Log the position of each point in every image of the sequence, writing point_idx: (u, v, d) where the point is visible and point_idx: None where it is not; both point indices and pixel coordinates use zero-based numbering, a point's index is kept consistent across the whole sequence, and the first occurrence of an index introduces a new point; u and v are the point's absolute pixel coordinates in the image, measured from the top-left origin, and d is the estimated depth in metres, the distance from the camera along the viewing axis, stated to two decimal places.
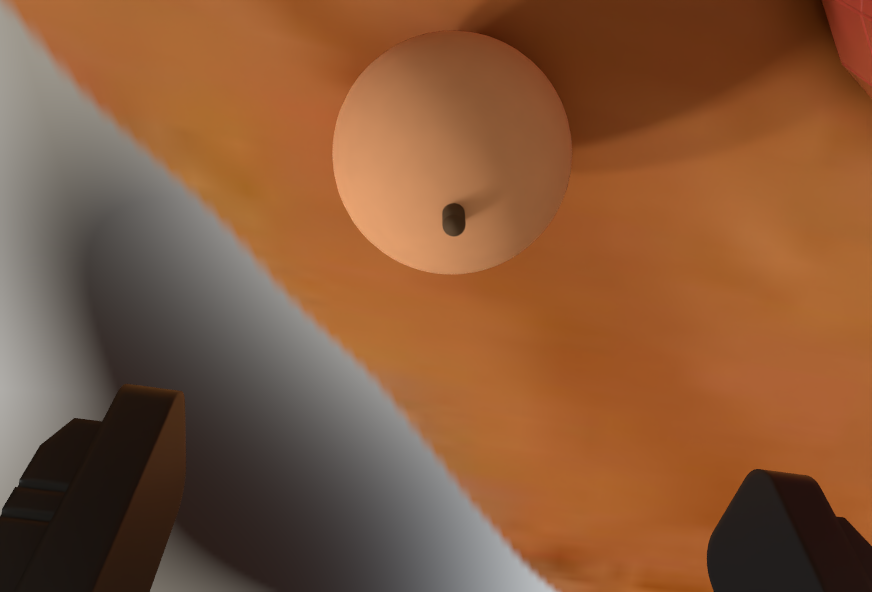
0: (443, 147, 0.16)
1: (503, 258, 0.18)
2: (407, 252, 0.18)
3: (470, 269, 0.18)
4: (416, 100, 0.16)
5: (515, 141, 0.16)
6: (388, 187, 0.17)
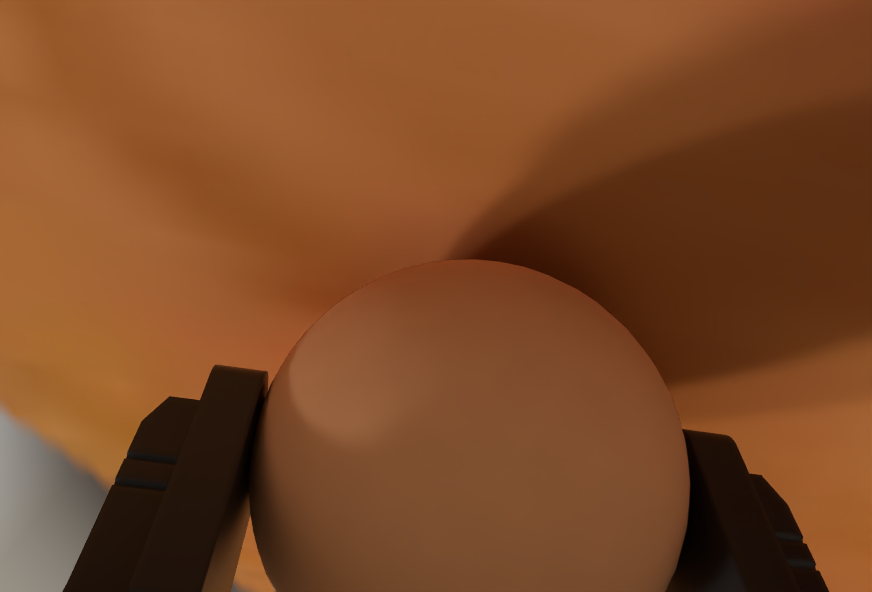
0: (453, 573, 0.08)
1: None
2: None
3: None
4: (397, 466, 0.08)
5: (602, 544, 0.08)
6: None
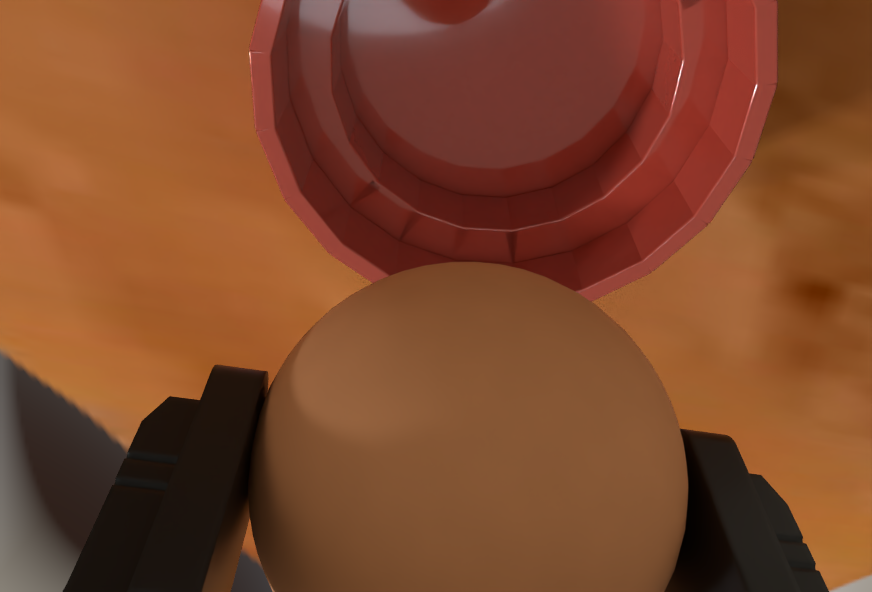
0: (450, 575, 0.08)
1: None
2: None
3: None
4: (395, 469, 0.08)
5: (600, 546, 0.08)
6: None
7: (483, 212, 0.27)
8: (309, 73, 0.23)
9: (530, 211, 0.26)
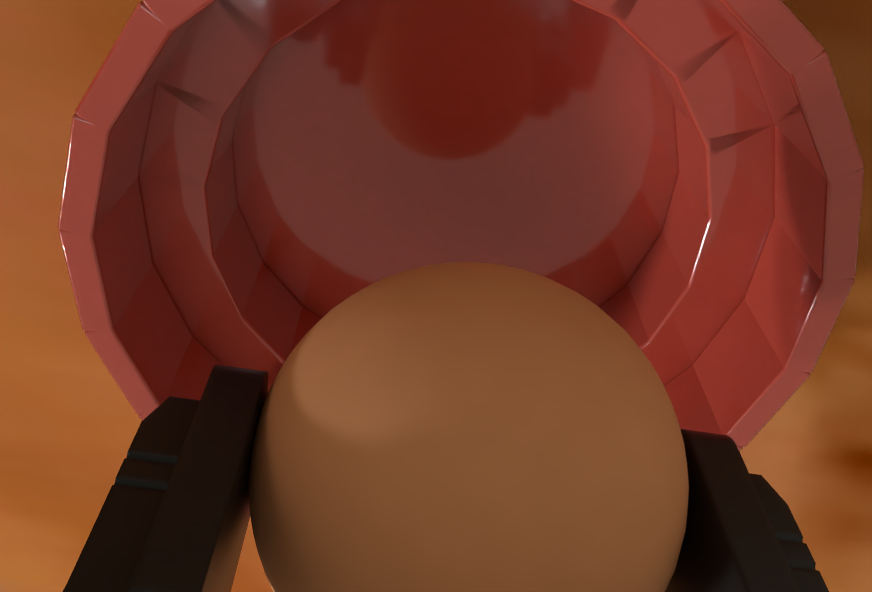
0: (451, 575, 0.08)
1: None
2: None
3: None
4: (396, 469, 0.08)
5: (601, 545, 0.08)
6: None
7: None
8: (177, 230, 0.16)
9: None
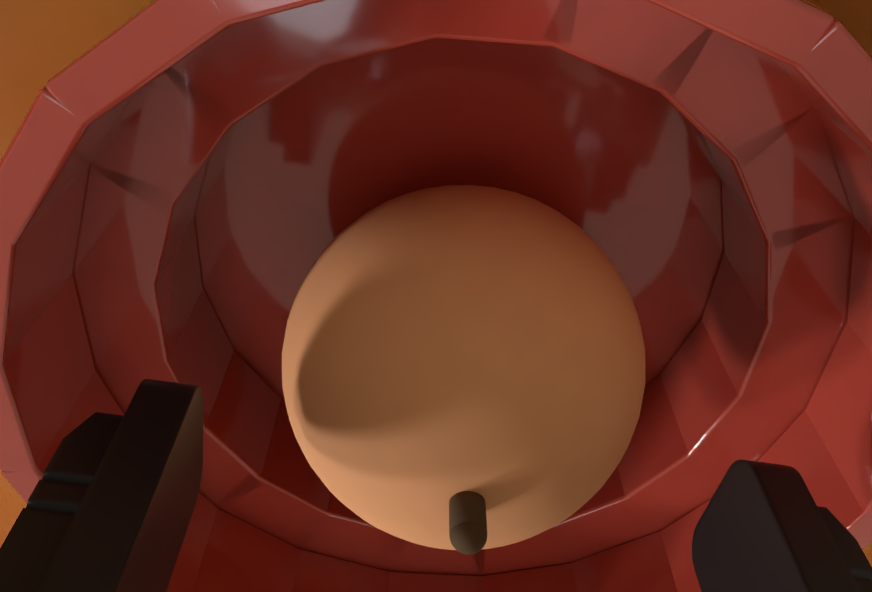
0: (449, 411, 0.10)
1: (541, 532, 0.12)
2: (394, 534, 0.12)
3: None
4: (406, 329, 0.10)
5: (568, 392, 0.10)
6: (362, 459, 0.10)
7: None
8: (124, 333, 0.13)
9: None
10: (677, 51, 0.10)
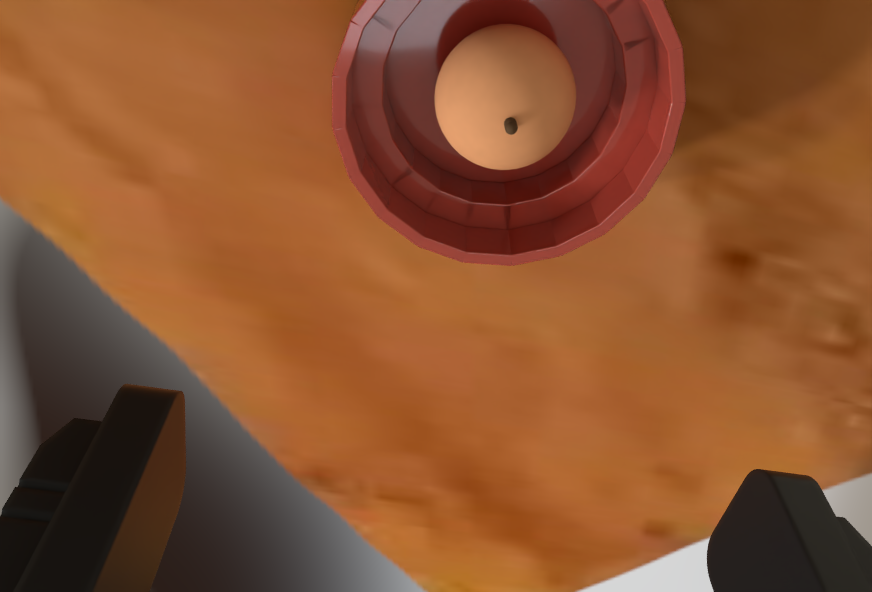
0: (505, 85, 0.29)
1: (536, 156, 0.31)
2: (481, 150, 0.31)
3: (516, 163, 0.31)
4: (489, 60, 0.29)
5: (545, 82, 0.29)
6: (473, 109, 0.30)
7: (486, 192, 0.36)
8: (367, 90, 0.33)
9: (520, 192, 0.36)
10: None
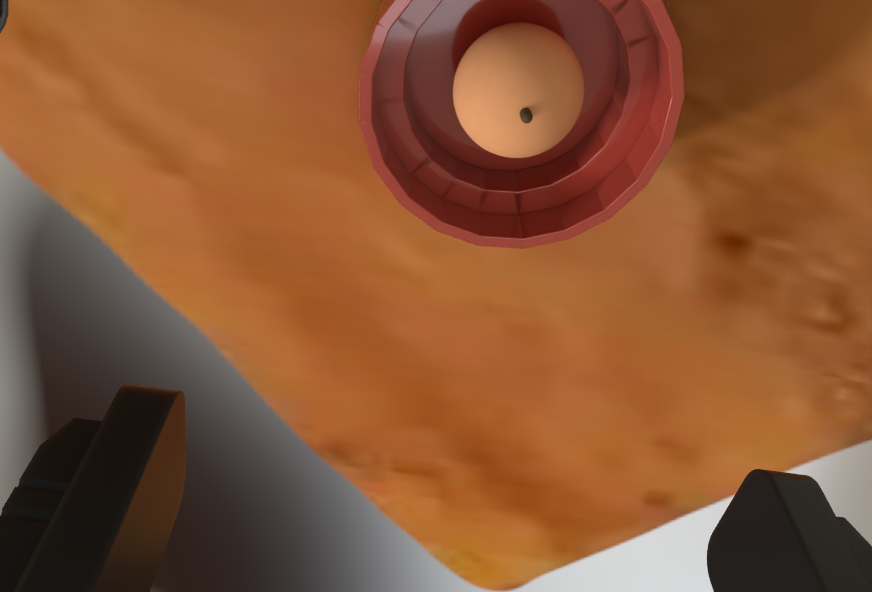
0: (520, 78, 0.32)
1: (548, 144, 0.34)
2: (497, 139, 0.33)
3: (530, 150, 0.34)
4: (506, 55, 0.32)
5: (557, 75, 0.32)
6: (491, 100, 0.32)
7: (499, 180, 0.39)
8: (389, 86, 0.35)
9: (531, 180, 0.39)
10: None
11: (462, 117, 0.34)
